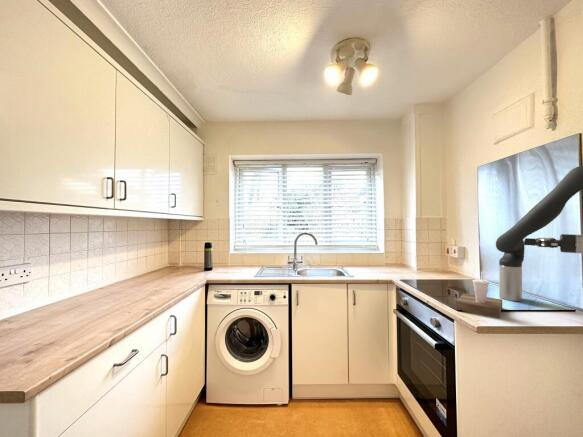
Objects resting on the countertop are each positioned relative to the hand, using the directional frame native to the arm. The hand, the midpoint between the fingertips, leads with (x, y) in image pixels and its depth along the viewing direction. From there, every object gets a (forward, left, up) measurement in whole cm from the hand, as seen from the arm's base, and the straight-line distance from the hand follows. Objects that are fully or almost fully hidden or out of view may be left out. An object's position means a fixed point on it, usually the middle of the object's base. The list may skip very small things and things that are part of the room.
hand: (524, 241), depth 124 cm
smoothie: (+8, -15, -28) cm, 33 cm away
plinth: (+6, -16, -32) cm, 36 cm away
